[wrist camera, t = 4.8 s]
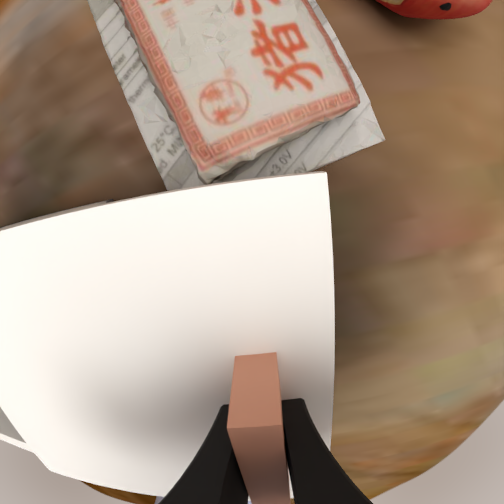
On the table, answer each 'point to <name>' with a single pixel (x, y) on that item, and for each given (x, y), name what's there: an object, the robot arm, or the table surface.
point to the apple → (436, 8)
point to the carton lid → (170, 330)
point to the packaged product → (235, 86)
